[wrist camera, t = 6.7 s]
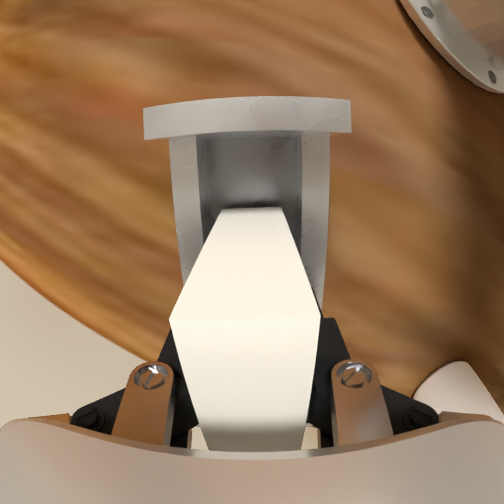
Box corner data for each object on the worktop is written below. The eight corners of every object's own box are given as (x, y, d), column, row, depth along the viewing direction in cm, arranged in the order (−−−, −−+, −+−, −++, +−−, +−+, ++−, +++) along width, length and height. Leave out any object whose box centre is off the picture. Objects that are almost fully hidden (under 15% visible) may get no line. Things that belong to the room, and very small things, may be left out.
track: (187, 122, 12) (142, 108, 7) (313, 117, 12) (350, 100, 7) (210, 358, 17) (197, 426, 12) (304, 357, 17) (316, 425, 12)
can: (477, 362, 18) (534, 449, 7) (436, 408, 20) (475, 497, 9) (444, 352, 17) (512, 464, 6) (396, 405, 20) (437, 515, 8)
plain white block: (221, 209, 12) (166, 318, 4) (282, 206, 12) (323, 315, 4) (234, 353, 15) (222, 486, 7) (281, 352, 15) (293, 485, 7)
